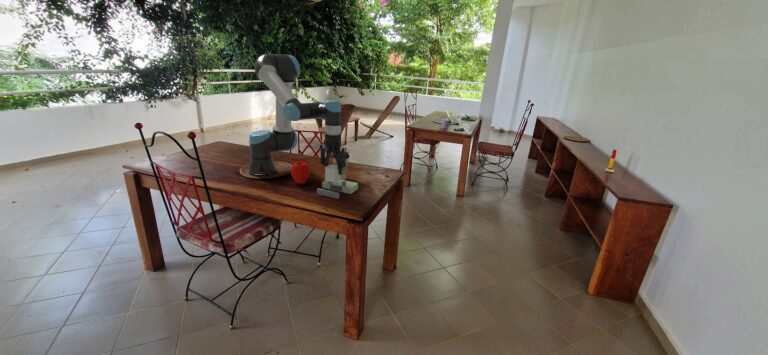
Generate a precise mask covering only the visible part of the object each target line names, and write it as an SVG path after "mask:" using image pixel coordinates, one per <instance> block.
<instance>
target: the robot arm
mask: <svg viewBox="0 0 768 355" xmlns="http://www.w3.org/2000/svg"><path fill="white" fill-rule="evenodd" d="M254 73H255V75H256V77H257V78H258V80H259V81H261V82H262V83H264V84H265V85H266V86H267V87H268V90H270V92H271V93H272V94H273V95H274V97H275V125H274V126H273V127H272V131H271V130H268V129H263V130H262V129H260V130H255V131H252V132H251V133H250V134H249V135H248V138H249V140H248V144H249V154H250V161H249V165H248V168H247V171H249V172H248V174H249V173H252V174H269V173H273V172H275V171H276V172H277V167H276V164H275V162H274V159H273V154H274V153H278V152H279V153H280V152H286V151H287V152H288V151H290V150H294V149H295V148H296V146H297V145H298V142H299V141H298V136H297V135H298V134H297V132H296V131H295V130H294V127H292V121H293V122H295V121H302V120H303V121H304V120H315V119H316V120H317V119H322V120H324V133H325V134H324V141H325V143H322V144H319V149H320V165H322V166H323V170H324V173H325V167H327V166H329V165H330V159H331V157H332V154H333V153H334V155H335V158H336V162H337V166H338V168H337V181H339V180H341V174H342V168H344V167H346V152H347V147H346V146H345V147H344V146H342V143H341V142H342V105H341V104H342V102H341V101H340V100H336V99H327V100H325V101H324V102H321V101H311V102H304V103H302V102H301V101H300V100H299V99H298V98H297V97H296V95H295V94H294V93H293V84H295V82H296V79H297V78H299V76H300V74H301V67H300V64H299V61H298V59H297V58H296V57H295V56H294V55H292V54H277V53H264V54H261V55H259V56H258V57H257V59H256V60H255V63H254ZM339 151H341V158H340V152H339ZM276 172H275V173H276ZM273 174H274V173H273Z"/></svg>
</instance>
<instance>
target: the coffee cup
mask: <svg viewBox="0 0 768 355" xmlns="http://www.w3.org/2000/svg"><path fill="white" fill-rule="evenodd" d="M339 152H340V158H341V150H339ZM331 158H332V165H337V162H336V158H335V155H334V153H332V154H331ZM349 158H350V155H349V152H347V151H346V167H344V168H342V174H341V180H345V181H346V178H347V174H348V169H349V168H348V167H349Z"/></svg>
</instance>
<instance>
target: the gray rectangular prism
mask: <svg viewBox="0 0 768 355" xmlns="http://www.w3.org/2000/svg"><path fill="white" fill-rule="evenodd" d="M337 168H338V166H337V165H333V164H329V166H327V167H325V172H324V174H325V175H324V177H325V178H324V181H329V182H334V183H335V182H337Z"/></svg>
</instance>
